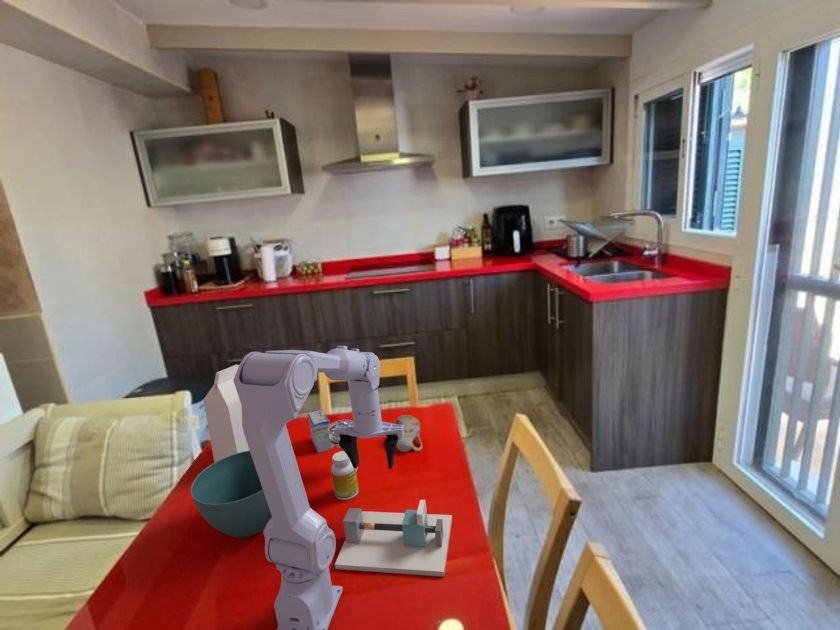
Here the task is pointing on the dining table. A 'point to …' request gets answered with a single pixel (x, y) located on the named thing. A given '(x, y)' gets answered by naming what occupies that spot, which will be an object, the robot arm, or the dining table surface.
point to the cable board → (392, 544)
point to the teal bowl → (232, 496)
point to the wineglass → (331, 431)
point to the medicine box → (320, 431)
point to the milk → (225, 416)
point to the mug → (409, 433)
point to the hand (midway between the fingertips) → (373, 466)
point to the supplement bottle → (344, 476)
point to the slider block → (415, 526)
